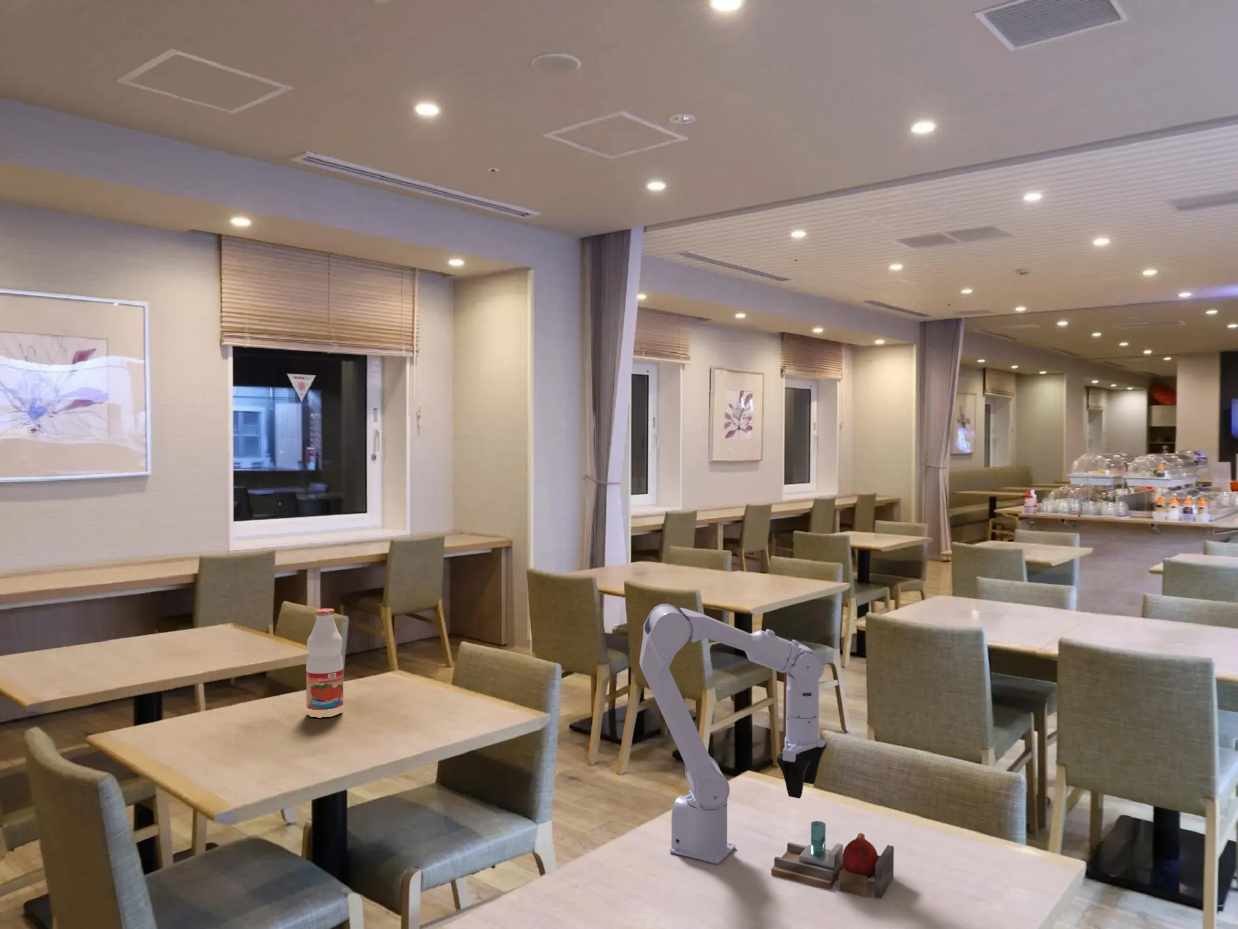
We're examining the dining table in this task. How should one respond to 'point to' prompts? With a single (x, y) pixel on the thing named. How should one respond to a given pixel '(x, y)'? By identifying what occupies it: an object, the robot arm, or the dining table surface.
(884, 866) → the frame
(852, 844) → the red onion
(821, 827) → the ram
